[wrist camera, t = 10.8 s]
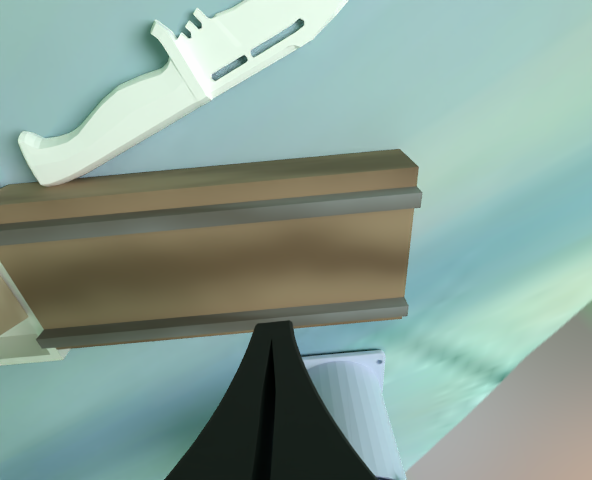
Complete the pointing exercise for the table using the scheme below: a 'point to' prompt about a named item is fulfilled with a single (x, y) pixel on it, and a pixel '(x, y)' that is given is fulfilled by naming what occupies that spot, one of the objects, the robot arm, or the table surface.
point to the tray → (24, 336)
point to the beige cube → (9, 309)
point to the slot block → (212, 248)
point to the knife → (176, 83)
